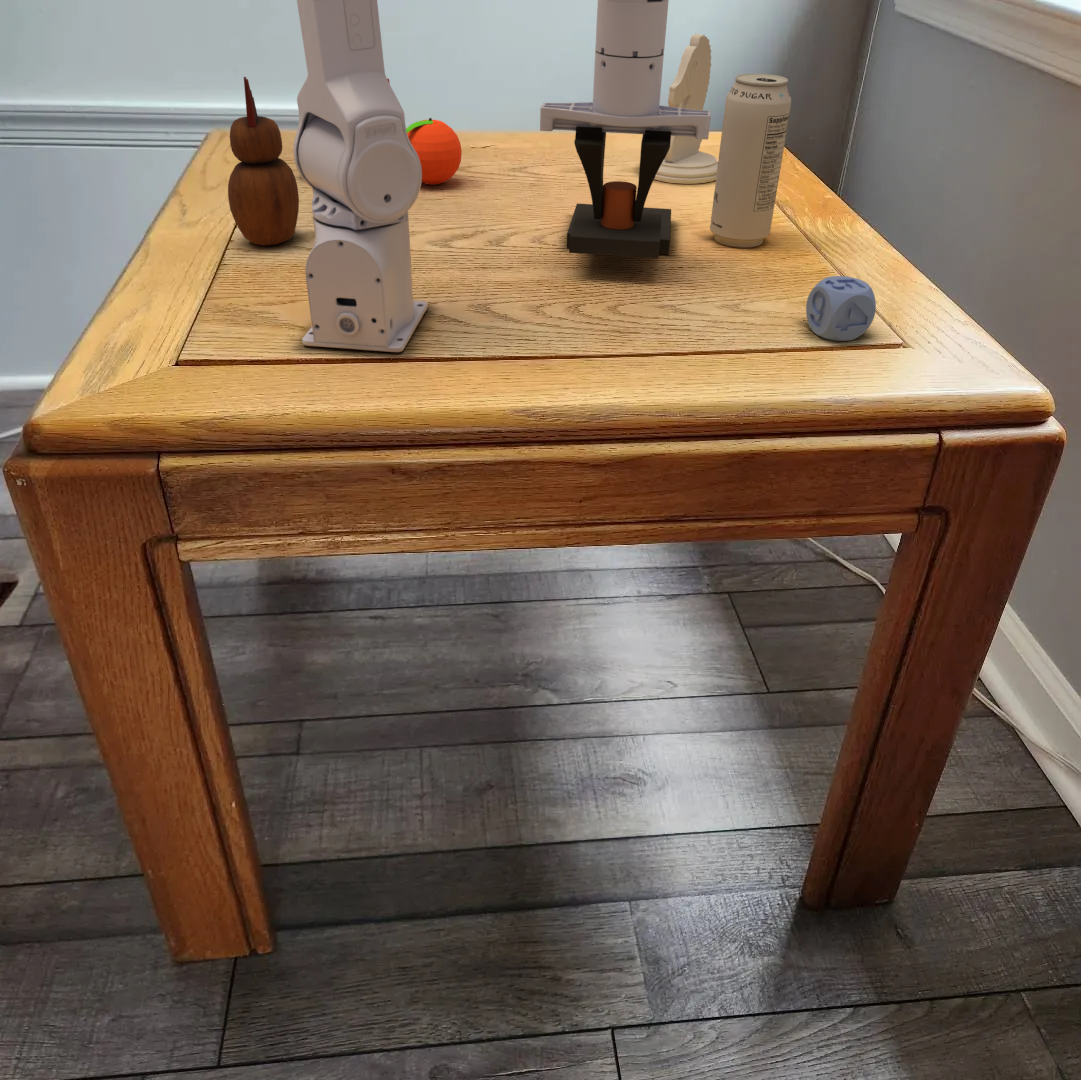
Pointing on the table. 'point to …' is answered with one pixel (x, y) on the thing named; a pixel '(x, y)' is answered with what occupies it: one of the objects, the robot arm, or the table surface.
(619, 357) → the table surface
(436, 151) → the clementine
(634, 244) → the pad
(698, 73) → the chess piece
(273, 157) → the wooden figurine
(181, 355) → the table surface
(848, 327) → the decorative dice
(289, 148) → the table surface
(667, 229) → the base pad
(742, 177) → the energy drink can
